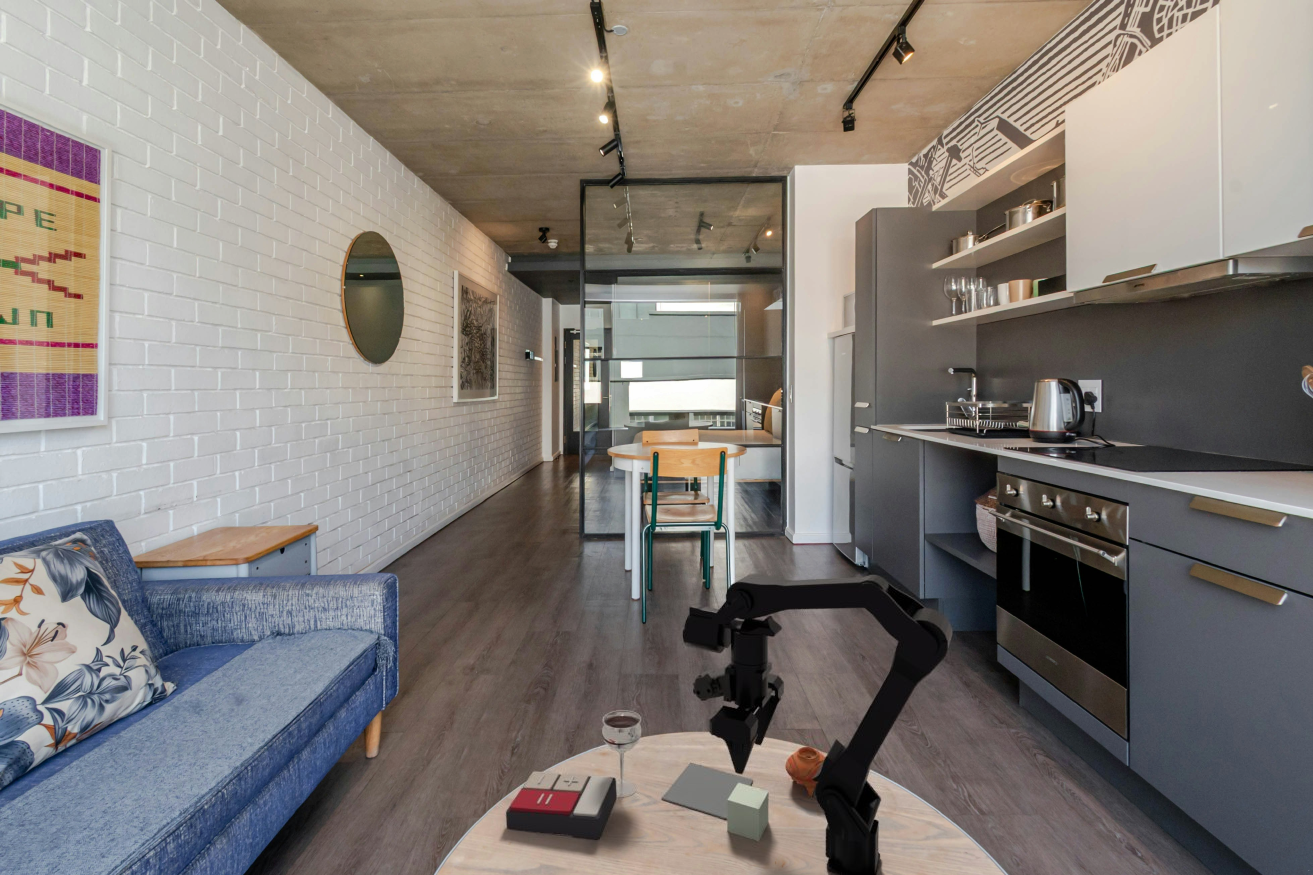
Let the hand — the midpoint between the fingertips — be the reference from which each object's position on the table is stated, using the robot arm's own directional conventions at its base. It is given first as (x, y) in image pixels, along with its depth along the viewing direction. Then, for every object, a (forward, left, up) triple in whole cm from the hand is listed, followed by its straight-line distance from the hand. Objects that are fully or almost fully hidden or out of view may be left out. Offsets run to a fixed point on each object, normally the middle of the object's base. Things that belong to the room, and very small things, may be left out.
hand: (748, 758), depth 95 cm
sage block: (0, 0, -11) cm, 11 cm away
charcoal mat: (+9, -6, -11) cm, 15 cm away
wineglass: (+23, 0, -11) cm, 25 cm away
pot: (-6, -15, -11) cm, 20 cm away
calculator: (+28, +10, -11) cm, 32 cm away
